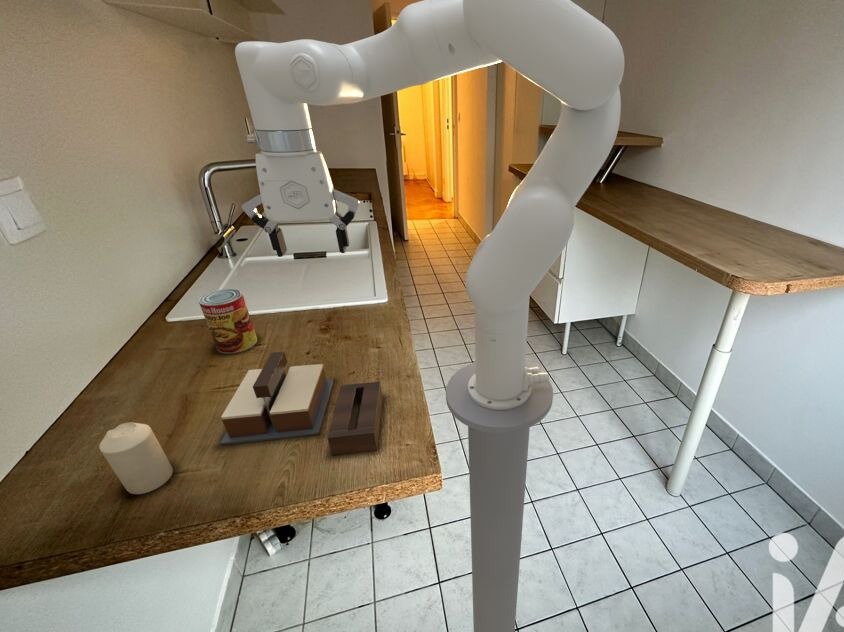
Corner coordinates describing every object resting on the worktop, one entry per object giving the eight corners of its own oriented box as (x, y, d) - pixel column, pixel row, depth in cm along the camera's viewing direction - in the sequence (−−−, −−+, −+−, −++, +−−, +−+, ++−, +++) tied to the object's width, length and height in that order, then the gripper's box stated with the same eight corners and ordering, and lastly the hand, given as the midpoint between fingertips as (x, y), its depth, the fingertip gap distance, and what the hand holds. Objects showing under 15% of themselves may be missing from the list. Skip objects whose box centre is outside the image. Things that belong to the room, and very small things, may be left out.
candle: (161, 491, 59) (132, 442, 54) (117, 497, 58) (83, 447, 53) (180, 462, 64) (154, 413, 59) (139, 467, 63) (110, 418, 58)
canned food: (208, 352, 90) (189, 303, 84) (232, 333, 97) (215, 287, 91) (243, 354, 90) (226, 305, 84) (264, 336, 96) (250, 289, 91)
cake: (334, 381, 83) (329, 360, 80) (318, 434, 70) (312, 412, 68) (252, 388, 80) (244, 367, 77) (221, 445, 67) (211, 422, 65)
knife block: (344, 401, 78) (340, 384, 76) (383, 397, 79) (380, 381, 77) (332, 455, 66) (327, 437, 64) (377, 450, 68) (373, 432, 66)
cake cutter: (283, 391, 79) (271, 352, 74) (295, 389, 79) (284, 351, 75) (267, 427, 70) (252, 386, 66) (281, 426, 71) (267, 385, 66)
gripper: (212, 146, 56) (250, 263, 65) (345, 145, 60) (365, 256, 68) (232, 140, 63) (264, 248, 71) (351, 139, 66) (368, 242, 75)
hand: (313, 252), depth 70 cm, fingers open, 9 cm apart
